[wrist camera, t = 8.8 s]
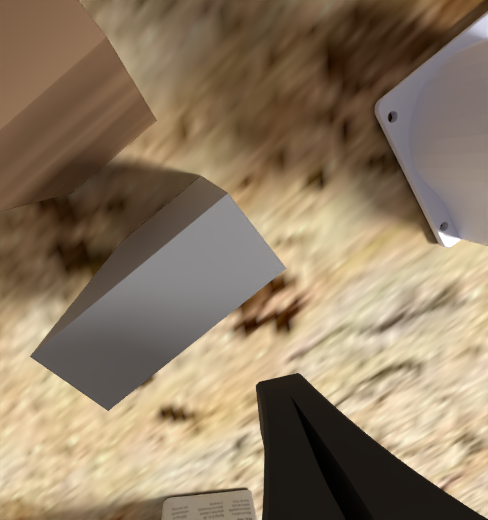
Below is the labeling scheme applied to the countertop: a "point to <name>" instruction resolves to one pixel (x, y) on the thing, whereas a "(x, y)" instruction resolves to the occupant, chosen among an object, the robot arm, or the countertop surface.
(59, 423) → the countertop surface
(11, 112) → the domino
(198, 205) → the domino
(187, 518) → the coffee box
